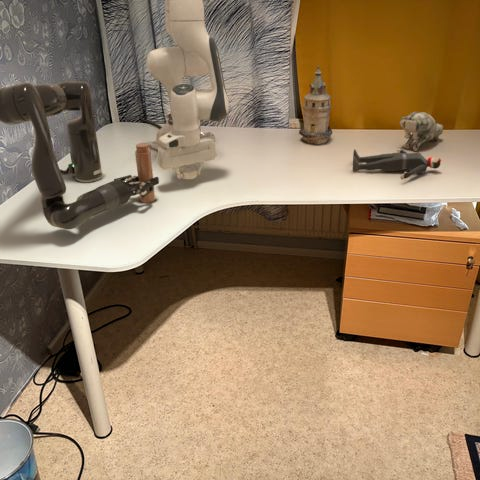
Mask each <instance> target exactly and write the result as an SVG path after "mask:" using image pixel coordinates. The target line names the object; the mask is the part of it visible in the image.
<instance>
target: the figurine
mask: <svg viewBox="0 0 480 480" xmlns="http://www.w3.org/2000/svg"><path fill="white" fill-rule="evenodd" d="M399 125H400V127H401V128H402V130H403V131H404V138H405V139H407V141H406V142H405V143H404V145H403V147H404V149H406V150H409V149H410V148H411V144H412V143H413V142H414V141H415V144H414V145H413V146H412V150H413V151H414V152H417V151H419V147H420V146H421V145H422V144H423V143H424V142H430V141H432V140H433V141H439V137H440V136H441V135H442V134H443V130H444V126H443V124H441V123H437V122H436V120H435V119H434V117H433V116H432V115H430V114H429V113H427V112H424V111H413V112H410V114H408V115H407V116H402V117H401V119H400V121H399Z"/></svg>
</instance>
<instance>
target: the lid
mask: <svg viewBox="0 0 480 480" xmlns="http://www.w3.org/2000/svg"><path fill="white" fill-rule="evenodd" d="M180 172H181V173H183V178H182V179H183V180H193V179H196V178H197V176H198V175H197V171H196V167H193V166H187V167H186V166H185V167H183V168H180Z"/></svg>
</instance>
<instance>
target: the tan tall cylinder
mask: <svg viewBox="0 0 480 480" xmlns="http://www.w3.org/2000/svg"><path fill="white" fill-rule="evenodd" d="M149 146H150V145H149V144H148V143H147V142H138V143H136V144H135V148H136V150H135V152H134V154H135V163H136V164H135V165H136V173H137V176H138V181H143V182H144V181H148V180H150V179H152V178H154V173H153V164H152V163H153V162H152V154H151V149H150V147H149ZM139 185H140V184H139ZM145 185H147V184H144V186H145ZM140 189H141V187H140ZM155 193H156V191H155V186H153V191H152V192H151V193H149V194H148V195H147V196H145V197H141V194H139V197H140V199H139V200H140V202H142V203H145V204H147V203H152V202H153V203H154V202H155V200H156V194H155Z"/></svg>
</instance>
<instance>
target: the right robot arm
mask: <svg viewBox="0 0 480 480" xmlns="http://www.w3.org/2000/svg"><path fill="white" fill-rule="evenodd" d="M164 24H165V25H164V26H165V27H164V28H165V31H166V32H167V34H168V35H169V36H170V37H171V39H172V41H173V42H174V44H175V45H176V46H166V47H165V46H164V47H159V48H156V49H153V50H150V51H149V53H148V55H147V57H146V62H145V63H146V69H147V71H148V73H149V74H150V76H151V77H153V79H156V80H157V81H158V82H160V84H161V85H162V86H163V87H164V89H165V90H166V93H167V96H168V102H169V106H170V107H169V108H170V109H169V110H170V113H168V114H167V115H165V119H166V120H167V123H166V124H164V125H163V126H162V125H160V124H158V123H156V122H153V121H151V120H147V119H144V118H143V115H142V114H139V119H140V121H142V122H144V123H147V124H151V125H153V126H155V127H157V128H159V129H158V130H157V131H156V134H155V135H156V136H155V137H156V138H155V141H153V142H151V144H150V148H152V149H154V150H157V165H158V167H159V168H160V169H162V170H163V171H165V170H166V171H167V170H170V169H173V170H174V171H175V173H176V177H177V179H178V180H180V179H183V173H181V167H186V166H190V165H194V164H197V166H196V167H195V169H196V171H197V176H200V175H201V170H202V168H203V166H204V162H209V161H213V160H214V161H215V159H216V158H217V155H218V154H217V148H216V144H215V143H216V135H215V134H214V133H212V132H210V131H209V132H204V133H203V131H202V127H201V126H202V121H210V122H217V123H220V122H222V121H223V120H225V119H226V118H227V116H228V115H229V114H230V101H229V100H230V99H229V98H228V94H227V89H226V85H225V79H224V74H223V69H222V63H221V58H220V54H219V49H218V45H217V43H216V41H215V39H214V38H213V37H211V36H210V34H209V33H208V30H207V28H206V19H205V5H204V0H164ZM205 75H209V81H210V87H211V89H209V90H208V89H207V90H206V89H205V90H202V89H201V90H200V89H199V90H197V89H196V88H195V86H194V85H192V84H188V83H183V81H182V80H183V78H193V77H203V76H205Z"/></svg>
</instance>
